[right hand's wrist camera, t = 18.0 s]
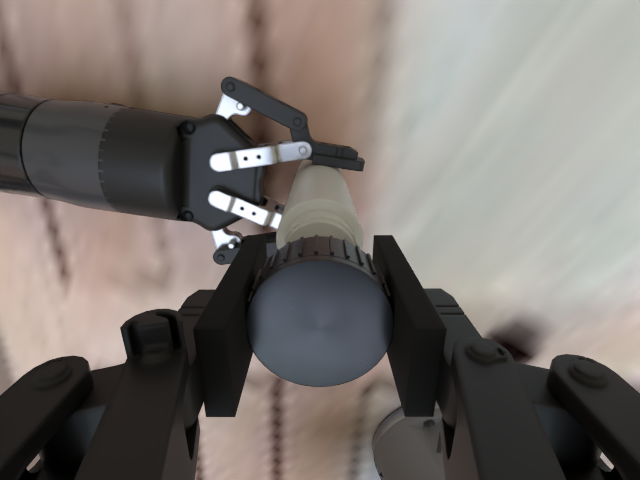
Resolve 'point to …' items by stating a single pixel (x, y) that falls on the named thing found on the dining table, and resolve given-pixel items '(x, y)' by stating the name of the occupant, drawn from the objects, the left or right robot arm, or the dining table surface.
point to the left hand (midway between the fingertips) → (355, 195)
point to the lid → (319, 312)
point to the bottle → (319, 207)
